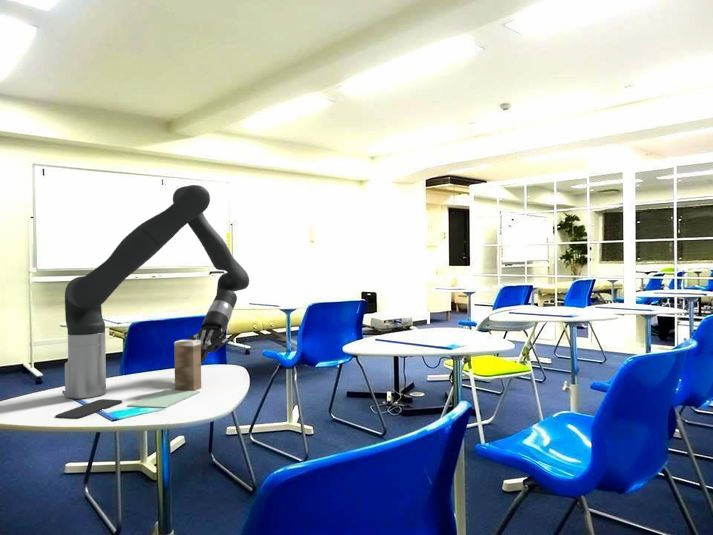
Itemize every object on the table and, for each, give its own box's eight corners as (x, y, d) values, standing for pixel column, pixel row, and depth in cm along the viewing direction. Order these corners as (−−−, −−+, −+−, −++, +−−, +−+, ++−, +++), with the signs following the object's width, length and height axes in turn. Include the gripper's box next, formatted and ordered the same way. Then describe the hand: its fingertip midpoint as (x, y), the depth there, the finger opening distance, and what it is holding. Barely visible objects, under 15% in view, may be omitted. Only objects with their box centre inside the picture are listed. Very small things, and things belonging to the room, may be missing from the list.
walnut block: (174, 390, 138) (174, 341, 139) (182, 387, 142) (182, 339, 142) (193, 391, 137) (193, 341, 137) (201, 387, 141) (200, 339, 141)
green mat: (127, 406, 122) (127, 405, 122) (165, 391, 138) (165, 389, 138) (165, 408, 120) (165, 406, 120) (199, 392, 136) (199, 391, 136)
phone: (52, 415, 114) (100, 398, 128) (52, 419, 114) (100, 402, 128) (78, 417, 112) (124, 400, 127) (78, 421, 112) (124, 403, 127)
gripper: (195, 310, 156) (173, 354, 144) (232, 309, 154) (213, 354, 142) (203, 324, 162) (183, 368, 149) (240, 324, 159) (222, 369, 147)
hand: (198, 361), depth 145 cm, fingers closed
